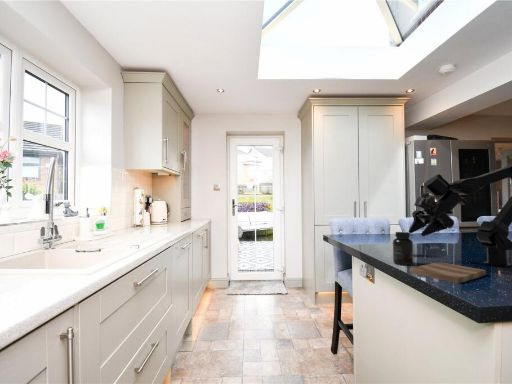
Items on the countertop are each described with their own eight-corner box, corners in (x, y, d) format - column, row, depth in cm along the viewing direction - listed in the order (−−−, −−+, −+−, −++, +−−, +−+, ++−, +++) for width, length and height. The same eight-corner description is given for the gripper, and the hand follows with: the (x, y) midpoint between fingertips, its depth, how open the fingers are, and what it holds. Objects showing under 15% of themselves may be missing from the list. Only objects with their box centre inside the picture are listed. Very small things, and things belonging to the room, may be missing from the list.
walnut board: (438, 266, 99) (438, 262, 99) (485, 274, 87) (485, 270, 87) (409, 272, 90) (409, 268, 90) (458, 283, 78) (457, 278, 78)
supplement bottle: (417, 265, 100) (416, 233, 100) (398, 265, 100) (398, 233, 100) (407, 261, 106) (406, 231, 107) (389, 261, 106) (389, 231, 107)
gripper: (416, 191, 113) (389, 217, 113) (444, 188, 94) (412, 220, 94) (436, 210, 112) (409, 236, 112) (468, 211, 93) (436, 243, 94)
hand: (415, 233), depth 103 cm, fingers open, 9 cm apart
